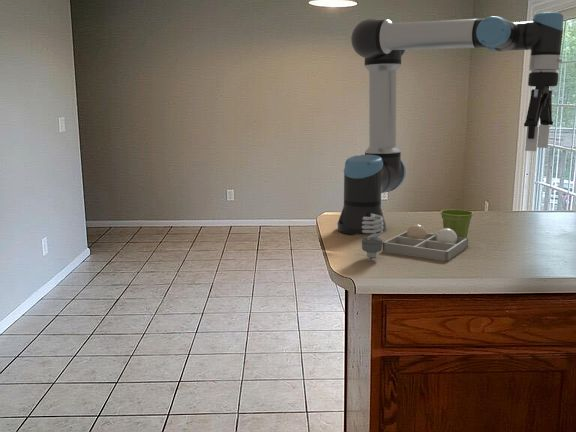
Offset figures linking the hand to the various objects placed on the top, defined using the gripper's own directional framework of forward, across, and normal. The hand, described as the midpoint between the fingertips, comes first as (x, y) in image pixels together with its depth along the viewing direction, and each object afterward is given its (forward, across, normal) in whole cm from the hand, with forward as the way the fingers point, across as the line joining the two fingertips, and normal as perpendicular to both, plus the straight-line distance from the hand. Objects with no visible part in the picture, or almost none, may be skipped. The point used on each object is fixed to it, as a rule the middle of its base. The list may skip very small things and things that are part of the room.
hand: (536, 149), depth 168 cm
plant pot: (+28, -10, +18) cm, 34 cm away
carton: (+27, -26, +21) cm, 43 cm away
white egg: (+27, -22, +16) cm, 38 cm away
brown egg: (+27, -22, +25) cm, 43 cm away
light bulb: (+28, -42, +29) cm, 58 cm away
